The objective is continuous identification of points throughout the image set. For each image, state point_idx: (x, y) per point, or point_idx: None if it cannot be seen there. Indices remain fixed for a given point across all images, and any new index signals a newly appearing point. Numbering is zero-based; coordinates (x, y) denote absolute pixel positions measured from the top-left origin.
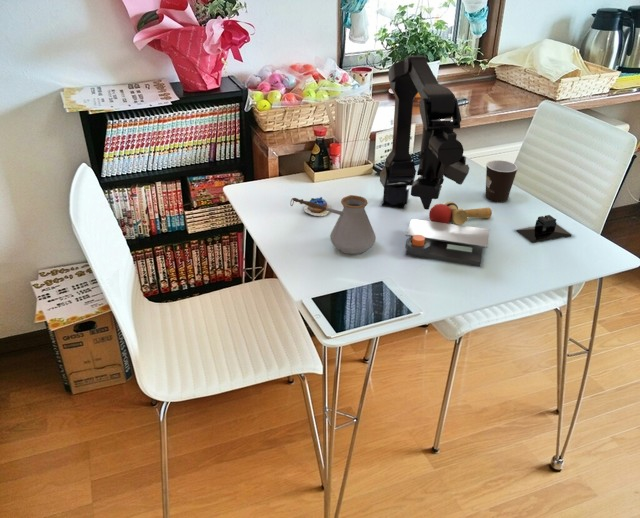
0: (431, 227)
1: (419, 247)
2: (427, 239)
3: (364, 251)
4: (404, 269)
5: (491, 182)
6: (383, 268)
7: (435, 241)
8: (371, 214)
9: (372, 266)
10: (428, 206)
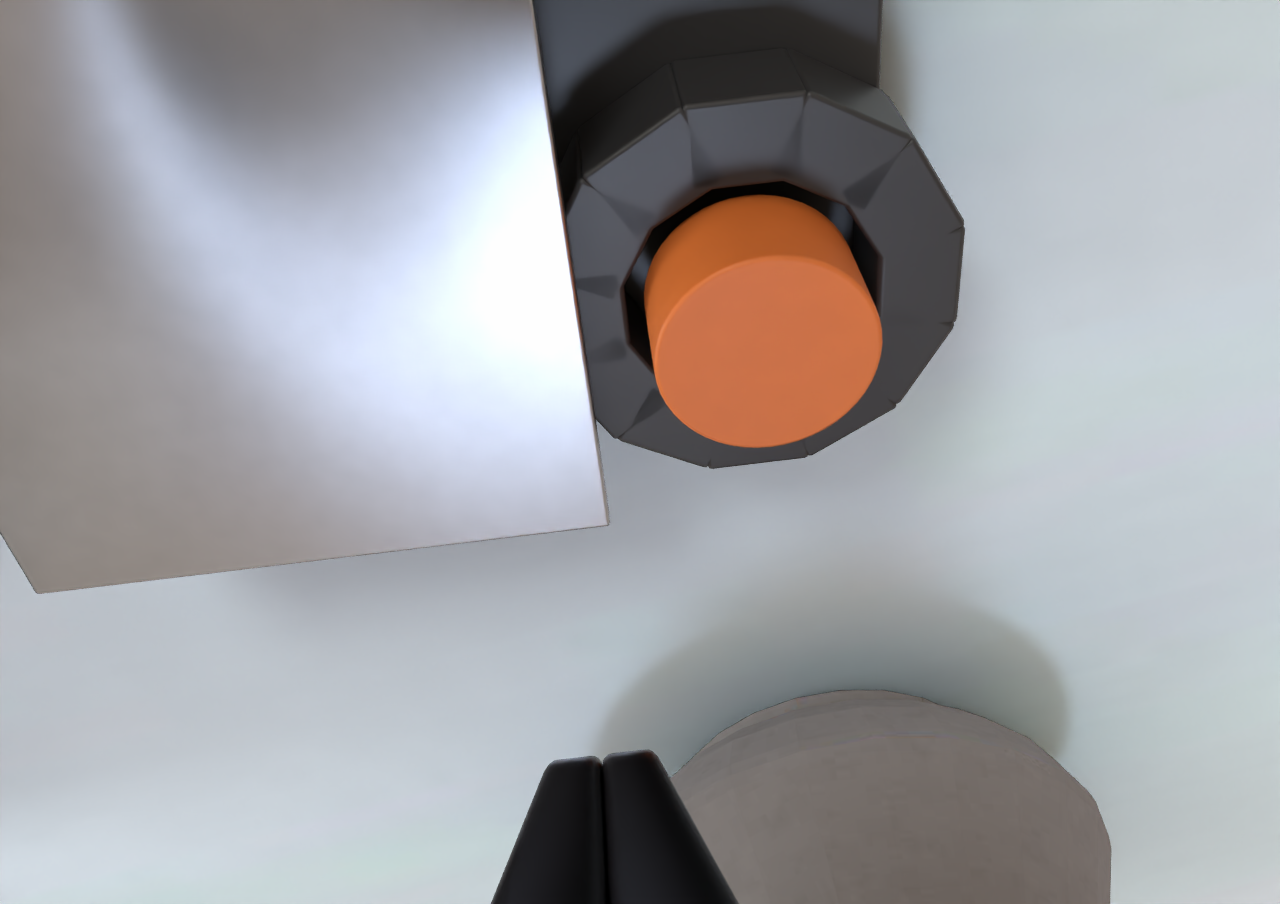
0: (113, 247)
1: (913, 241)
2: None
3: (901, 697)
4: (1221, 237)
5: None
6: (1218, 453)
7: None
8: (53, 862)
9: (1185, 553)
10: (709, 864)
